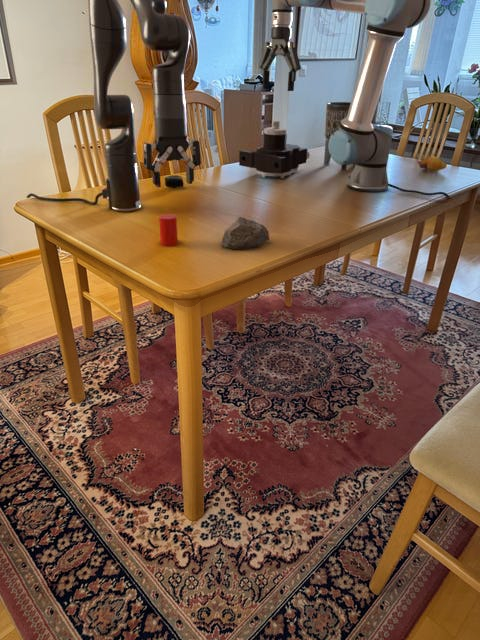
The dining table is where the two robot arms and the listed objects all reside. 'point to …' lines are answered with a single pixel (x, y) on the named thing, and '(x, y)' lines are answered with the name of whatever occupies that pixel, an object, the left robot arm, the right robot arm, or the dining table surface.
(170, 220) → the canister
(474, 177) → the dining table surface
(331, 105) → the planter
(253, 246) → the rock
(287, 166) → the mechanical component
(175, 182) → the tape measure
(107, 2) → the left robot arm
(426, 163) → the toy
